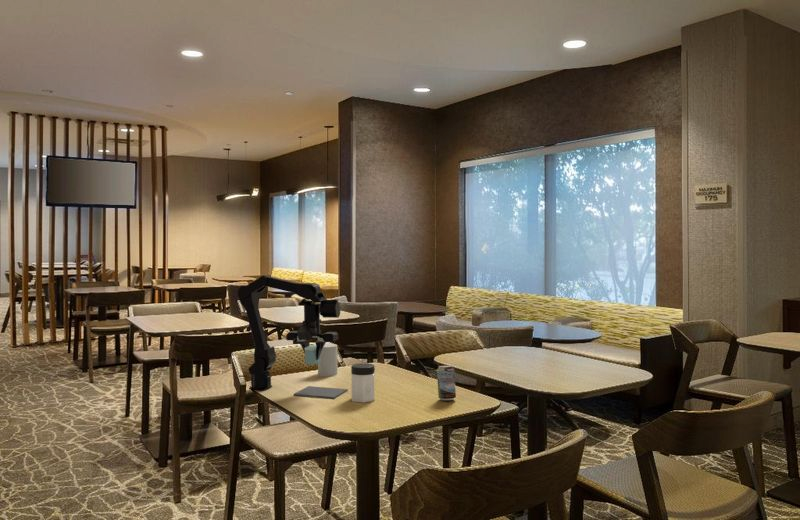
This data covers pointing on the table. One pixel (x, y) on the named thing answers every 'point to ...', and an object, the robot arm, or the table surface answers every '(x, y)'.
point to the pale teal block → (311, 355)
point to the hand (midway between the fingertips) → (312, 359)
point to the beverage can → (446, 382)
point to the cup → (328, 361)
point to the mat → (320, 392)
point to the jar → (362, 382)
